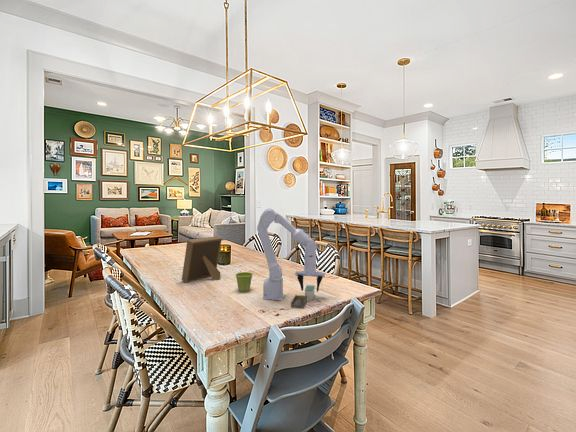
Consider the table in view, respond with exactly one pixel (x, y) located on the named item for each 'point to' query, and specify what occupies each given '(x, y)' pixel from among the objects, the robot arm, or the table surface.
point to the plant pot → (244, 281)
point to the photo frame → (201, 259)
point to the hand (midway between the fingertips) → (309, 290)
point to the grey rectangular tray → (298, 301)
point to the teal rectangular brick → (310, 292)
